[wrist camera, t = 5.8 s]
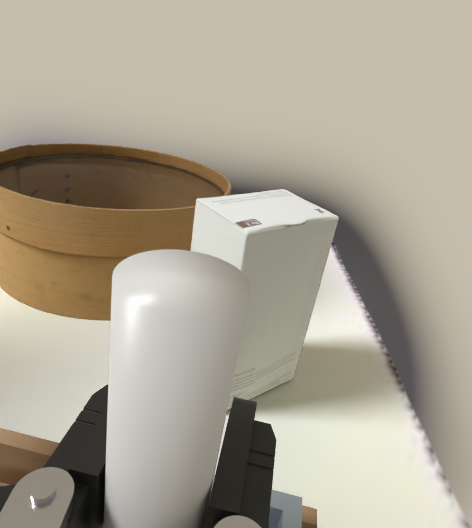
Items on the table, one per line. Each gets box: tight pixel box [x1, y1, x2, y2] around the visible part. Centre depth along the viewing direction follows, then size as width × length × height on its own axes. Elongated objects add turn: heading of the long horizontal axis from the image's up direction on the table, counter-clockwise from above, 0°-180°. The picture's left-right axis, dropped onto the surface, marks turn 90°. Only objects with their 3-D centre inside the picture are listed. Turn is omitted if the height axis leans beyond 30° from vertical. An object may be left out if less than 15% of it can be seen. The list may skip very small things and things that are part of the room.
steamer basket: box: [0, 143, 231, 320], centre depth 46 cm, size 25×25×11 cm
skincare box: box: [191, 189, 339, 410], centre depth 31 cm, size 8×6×15 cm
